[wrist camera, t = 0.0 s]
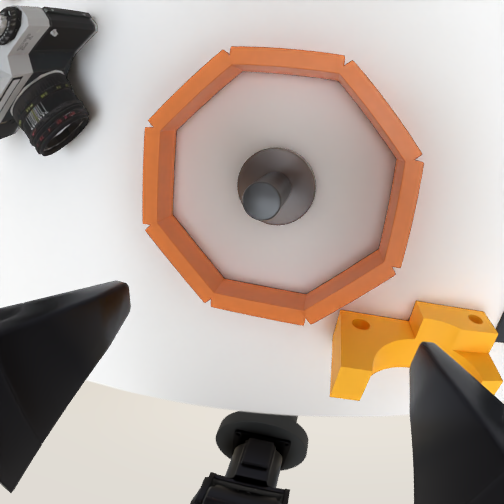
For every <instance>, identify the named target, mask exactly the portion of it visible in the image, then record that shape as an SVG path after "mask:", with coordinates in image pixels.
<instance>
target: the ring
mask: <svg viewBox="0 0 504 504" xmlns="http://www.w3.org/2000/svg"><path fill="white" fill-rule="evenodd" d="M344 63H345V56H344V55H337V54H330V53H323V52H315V51H306V50H296V49H284V48H268V47H234V46H232V47H231V49H230V54H229V53H227V52H226V51H225V50H222V51H220V52H219V53H218V54H217V55H216V56H215V57H213V58H212V59H211V60H210V61H209V62H208V63H207V64H205V65H204V66H203V67H202V68H201V69H200V70H199V71H198V72H197V73H195V74H194V75H193V76H192V77H191V78H190V79H189V80H188V81H187V82H186V83H185V84H184V85H183V86H182V87H181V88H179V89H178V90H177V91H176V92H175V93H174V94H173V95H172V96H171V97H170V98H169V99H168V100H167V101H166V102H165V103H164V104H163V105H162V106H161V107H160V108H159V109H158V111H157V112H156V113H155V114H154V115H153V116H152V117H151V118H150V119H149V120H148V121H149V122H150V124H151V125H152V126H153V127H145V136H144V157H143V224H148V225H150V226H149V227H148V228H147V229H146V230H145V231H146V232H147V233H148V235H149V236H150V237H151V238H152V240H153V241H154V242H155V244H156V245H157V246H158V247H159V249H160V250H161V251H162V252H163V254H164V255H165V256H166V257H167V258H168V260H169V261H170V262H171V263H172V265H173V266H174V267H175V268H176V270H177V271H178V272H179V273H180V274H181V276H182V277H183V278H184V279H185V280H186V282H187V283H188V284H189V285H190V286H191V288H192V289H193V290H194V291H195V292H196V294H197V295H198V296H199V297H200V298H201V299H202V301H203V302H204V303H206V302H207V301H209V300H210V299H211V307H214V308H219V309H223V310H228V311H232V312H237V313H242V314H247V315H251V316H256V317H261V318H266V319H271V320H276V321H281V322H286V323H292V324H297V325H302V326H303V325H304V323H305V318H306V319H307V321H308V322H309V323H310V324H313V323H315V322H317V321H319V320H320V319H322V318H324V317H326V316H328V315H329V314H331V313H333V312H335V311H336V310H338V309H340V308H342V307H343V306H345V305H347V304H348V303H350V302H352V301H354V300H355V299H357V298H359V297H360V296H362V295H364V294H365V293H367V292H369V291H370V290H372V289H374V288H375V287H377V286H378V285H380V284H382V283H383V282H385V281H387V280H388V279H390V278H391V277H393V276H394V275H396V273H395V271H394V269H393V267H397V268H401V265H402V261H403V257H404V254H405V250H406V246H407V242H408V238H409V234H410V230H411V226H412V222H413V217H414V213H415V208H416V203H417V198H418V194H419V188H420V183H421V178H422V172H423V166H424V163H423V162H420V161H417V160H415V159H417V158H418V157H419V156H421V155H422V153H421V151H420V150H419V148H418V146H417V145H416V143H415V142H414V140H413V139H412V137H411V136H410V134H409V133H408V131H407V130H406V128H405V127H404V125H403V124H402V123H401V121H400V120H399V118H398V117H397V115H396V114H395V113H394V111H393V110H392V108H391V107H390V106H389V104H388V103H387V102H386V100H385V99H384V98H383V96H382V95H381V94H380V93H379V91H378V90H377V89H376V87H375V86H374V85H373V84H372V82H371V81H370V80H369V79H368V77H367V76H366V75H365V74H364V73H363V71H362V70H361V69H360V68H359V67H358V65H357V64H356V63H355V62H354V61H353V60H352V61H350V62H349V63H347V64H346V65H345V66H344ZM242 71H244V72H263V73H277V74H289V75H298V76H307V77H315V78H323V79H330V80H336V81H339V82H340V84H341V85H342V86H343V87H344V88H345V90H346V91H347V92H348V93H349V95H350V96H351V97H352V98H353V100H354V101H355V102H356V103H357V105H358V106H359V107H360V109H361V110H362V111H363V112H364V114H365V115H366V116H367V118H368V119H369V120H370V122H371V123H372V124H373V126H374V127H375V129H376V130H377V131H378V133H379V134H380V136H381V137H382V138H383V140H384V141H385V143H386V144H387V146H388V147H389V148H390V150H391V151H392V153H393V154H394V156H395V157H396V159H397V160H396V166H395V172H394V178H393V183H392V189H391V194H390V200H389V205H388V210H387V214H386V219H385V224H384V228H383V233H382V237H381V242H380V246H379V249H378V250H376V251H375V252H373V253H372V254H370V255H369V256H367V257H366V258H364V259H362V260H361V261H359V262H358V263H356V264H355V265H353V266H351V267H350V268H348V269H347V270H345V271H343V272H342V273H340V274H339V275H337V276H335V277H334V278H332V279H331V280H329V281H327V282H326V283H324V284H322V285H321V286H319V287H318V288H316V289H314V290H313V291H311V292H309V293H308V294H302V293H297V292H291V291H286V290H280V289H275V288H270V287H265V286H259V285H254V284H249V283H244V282H239V281H234V280H229V279H224V277H223V276H222V275H221V274H220V273H219V271H218V270H217V269H216V268H215V267H214V265H213V264H212V263H211V262H210V260H209V259H208V258H207V257H206V255H205V254H204V253H203V252H202V251H201V249H200V248H199V247H198V246H197V244H196V243H195V242H194V241H193V239H192V238H191V237H190V236H189V234H188V233H187V232H186V231H185V229H184V228H183V227H182V226H181V224H180V223H179V222H178V221H177V219H176V218H175V217H174V216H173V184H174V163H175V146H176V131H177V129H178V128H180V127H181V126H182V125H183V124H184V123H185V122H186V121H187V120H188V119H189V118H190V117H191V116H192V115H193V114H194V113H195V112H196V111H197V110H199V109H200V108H201V107H202V106H203V105H204V104H205V103H206V102H207V101H208V100H210V99H211V98H212V97H213V96H214V95H215V94H216V93H217V92H219V91H220V90H221V89H222V88H223V87H224V86H226V85H227V84H228V83H229V82H230V81H231V80H233V79H234V78H235V77H236V76H237V75H239V74H240V73H241V72H242Z"/></svg>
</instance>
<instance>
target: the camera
mask: <svg viewBox="0 0 504 504" xmlns="http://www.w3.org/2000/svg"><path fill="white" fill-rule="evenodd" d="M97 31H98V30H97V25H96V23H95V22H94V21H93V19H92V17H91V16H90V14H89V13H85V12H79V11H73V10H66V9H59V8H50V7H43V8H39V7H29V6H12V7H6V8H5V9H3V10H2V11H1V12H0V139H2V138H5V137H7V136H10V135H12V134H15V133H16V132H17V130H18V129H19V127H20V128H21V129H22V130H23V131H25V133H26V134H27V136H28V138H29V139H30V143H31V144H32V146H34V147H35V149H36V151H37V152H38V153H39V154H42V155H43V156H48V155H51V154H53V153H55V152H57V151H58V150H60V149H61V148H63V147H64V146H65V145H67V144H68V143H69V142H70V141H72V140H73V139H74V138H75V137H76V136H77V135H78V134H79V133H80V132H81V131H82V130H83V129H84V128H85V126H86V125H87V123H88V121H89V118H88V115H89V114H88V112H87V111H86V109H85V108H84V107H83V103H82V101H80V100H79V99H78V98H77V97H76V95H75V94H74V93H73V88H72V86H71V84H70V83H69V81H68V80H67V78H66V77H67V74H68V71H69V68H70V65H71V62H72V60H73V57H74V55H75V54H76V53H77V52H78V51H79V50H80V49H81V48H82V46H83V45H84V44H85V43H86V42H87V41H88V40H89V39H90V38H91V37H92V36H93V35H94V34H95V33H96V32H97Z"/></svg>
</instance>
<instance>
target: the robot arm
mask: <svg viewBox="0 0 504 504" xmlns="http://www.w3.org/2000/svg"><path fill="white" fill-rule="evenodd" d="M130 307H131V305H130V295H129V287H128V285H127V284H126V283H124V282H120V281H112V282H108V283H104V284H100V285H95V286H91V287H87V288H83V289H79V290H75V291H70V292H66V293H62V294H58V295H54V296H50V297H46V298H41V299H37V300H33V301H29V302H25V303H24V304H23V303H20V304H16V305H12V306H8V307H3V308H0V484H1V485H2V486H3V487H4V488H5V489H7V490H8V491H9V492H10V493H12V491H13V490H14V489H15V487H16V486H17V484H18V482H19V481H20V479H21V477H22V476H23V474H24V472H25V471H26V469H27V467H28V466H29V464H30V463H31V461H32V459H33V457H34V456H35V455H36V453H37V451H38V450H39V448H40V447H41V445H42V444H41V443H43V442H44V440H45V439H46V437H47V436H48V434H49V433H50V431H51V430H52V428H53V427H54V425H55V424H56V422H57V421H58V419H59V418H60V416H61V415H62V413H63V412H64V410H65V409H66V407H67V406H68V404H69V403H70V402H71V400H72V399H73V397H74V396H75V394H76V393H77V391H78V390H79V389H80V387H81V386H82V384H83V383H84V381H85V380H86V379H87V377H88V376H89V374H90V373H91V372H92V370H93V369H94V367H95V366H96V365H97V363H98V362H99V360H100V359H101V358H102V356H103V355H104V354H105V352H106V351H107V349H108V348H109V346H110V345H111V343H112V341H113V340H114V338H115V336H116V334H117V333H118V331H119V329H120V328H121V326H122V324H123V322H124V321H125V319H126V317H127V316H128V314H129V312H130ZM410 422H411V434H412V448H413V467H414V504H504V404H503V403H502V402H501V401H500V400H499V399H497V398H496V397H495V396H494V395H493V394H492V393H491V392H490V391H489V390H488V389H486V388H485V387H484V386H483V385H482V384H481V383H480V382H479V381H478V380H476V379H475V378H474V377H473V376H472V375H471V374H470V373H469V372H467V371H466V370H465V369H464V368H463V367H462V366H461V365H460V364H458V363H457V362H456V361H455V360H454V359H453V358H451V357H450V356H449V355H448V354H447V353H446V352H445V351H443V350H442V349H441V348H440V347H439V346H438V345H436V344H435V343H433V342H421V343H420V345H419V347H418V349H417V351H416V353H415V356H414V358H413V360H412V362H411V365H410ZM290 446H291V441H290V440H286V439H281V438H276V437H271V436H266V435H261V434H256V433H252V432H248V431H243V430H239V429H237V430H235V432H234V438H233V447H232V456H231V457H232V459H231V461H230V464H229V467H228V470H227V473H226V475H225V477H224V476H221V475H217V474H216V473H212V472H211V473H210V475H209V477H205V479H204V481H203V484H202V486H201V488H200V489H199V491H198V492H197V494H196V495H195V497H194V498H193V500H192V501H191V503H190V504H288V498H289V491H290V490H289V489H285V490H284V489H279V488H276V486H277V481H278V477H279V473H280V469H281V468H283V465H284V462H285V460H286V457H287V454H288V452H289V449H290Z"/></svg>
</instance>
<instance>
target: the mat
mask: <svg viewBox="0 0 504 504" xmlns="http://www.w3.org/2000/svg"><path fill="white" fill-rule="evenodd" d="M496 331H497V332H498V336H497V338H496V340H495V342H503V343H504V313H503V315H502V317H501V319H500V322H499V324H498V326H497V328H496Z"/></svg>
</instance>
